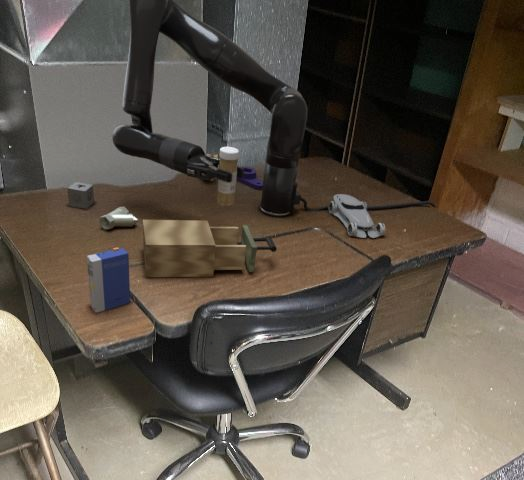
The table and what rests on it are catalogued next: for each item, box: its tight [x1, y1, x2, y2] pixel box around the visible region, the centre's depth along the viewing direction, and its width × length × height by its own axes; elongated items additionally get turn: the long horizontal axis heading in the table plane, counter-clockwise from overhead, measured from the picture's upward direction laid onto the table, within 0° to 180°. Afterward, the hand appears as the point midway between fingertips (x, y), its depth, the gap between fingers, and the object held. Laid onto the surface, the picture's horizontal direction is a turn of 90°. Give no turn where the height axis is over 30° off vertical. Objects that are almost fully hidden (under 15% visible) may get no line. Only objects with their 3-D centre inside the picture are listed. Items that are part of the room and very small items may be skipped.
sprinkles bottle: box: [216, 146, 240, 207], centre depth 136 cm, size 5×5×13 cm
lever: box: [236, 166, 263, 191], centre depth 182 cm, size 12×6×3 cm, turn 36°
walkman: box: [86, 247, 131, 313], centre depth 113 cm, size 8×3×12 cm, turn 130°
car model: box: [328, 193, 386, 239], centre depth 165 cm, size 11×24×5 cm, turn 14°
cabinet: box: [142, 219, 215, 278], centre depth 132 cm, size 15×13×8 cm
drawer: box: [209, 224, 278, 273], centre depth 135 cm, size 20×12×6 cm, turn 102°
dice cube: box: [67, 181, 95, 210], centre depth 153 cm, size 5×5×5 cm
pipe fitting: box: [99, 206, 138, 231], centre depth 145 cm, size 8×4×7 cm
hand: (237, 175), depth 134 cm, fingers closed on sprinkles bottle, 4 cm apart
